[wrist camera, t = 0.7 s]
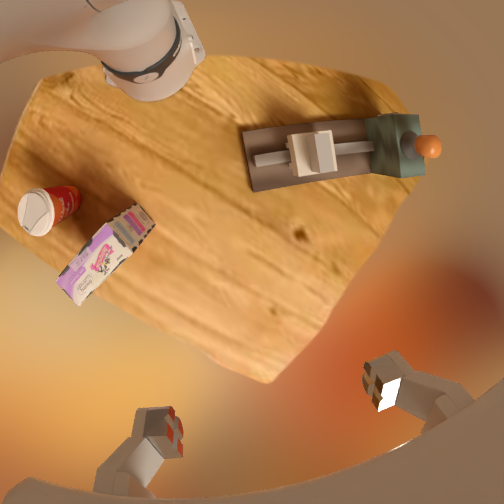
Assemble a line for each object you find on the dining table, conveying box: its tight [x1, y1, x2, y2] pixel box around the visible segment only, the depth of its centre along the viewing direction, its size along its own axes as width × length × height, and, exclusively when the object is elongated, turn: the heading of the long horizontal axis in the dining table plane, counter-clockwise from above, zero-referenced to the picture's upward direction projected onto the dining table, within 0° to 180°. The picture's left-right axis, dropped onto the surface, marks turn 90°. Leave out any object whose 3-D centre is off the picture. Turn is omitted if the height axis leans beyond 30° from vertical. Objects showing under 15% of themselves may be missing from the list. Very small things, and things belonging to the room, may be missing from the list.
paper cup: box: [18, 185, 81, 236], centre depth 39 cm, size 8×8×14 cm
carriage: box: [285, 130, 338, 177], centre depth 44 cm, size 7×7×9 cm
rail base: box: [242, 113, 425, 193], centre depth 44 cm, size 12×30×12 cm, turn 101°
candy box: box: [56, 203, 156, 306], centre depth 42 cm, size 14×6×16 cm, turn 127°
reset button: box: [415, 135, 442, 158], centre depth 36 cm, size 4×4×3 cm
